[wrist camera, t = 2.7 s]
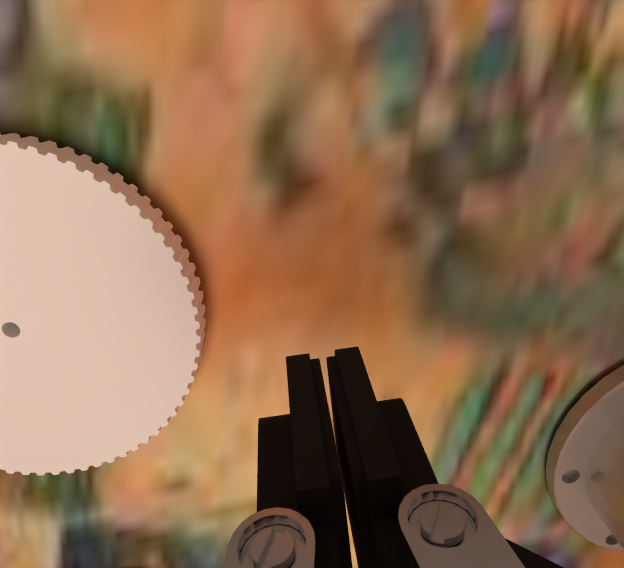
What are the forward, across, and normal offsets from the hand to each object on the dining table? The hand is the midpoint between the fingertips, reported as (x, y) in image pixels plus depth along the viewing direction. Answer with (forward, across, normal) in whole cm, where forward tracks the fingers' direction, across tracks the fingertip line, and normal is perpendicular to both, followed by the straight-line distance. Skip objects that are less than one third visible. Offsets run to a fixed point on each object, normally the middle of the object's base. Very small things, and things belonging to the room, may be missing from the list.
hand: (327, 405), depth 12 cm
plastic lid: (+11, +11, +1) cm, 15 cm away
